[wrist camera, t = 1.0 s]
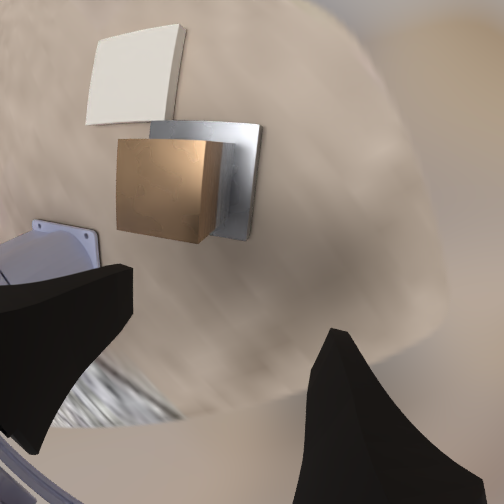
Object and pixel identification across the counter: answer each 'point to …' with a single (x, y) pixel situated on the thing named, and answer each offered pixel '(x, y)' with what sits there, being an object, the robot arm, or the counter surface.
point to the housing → (173, 187)
